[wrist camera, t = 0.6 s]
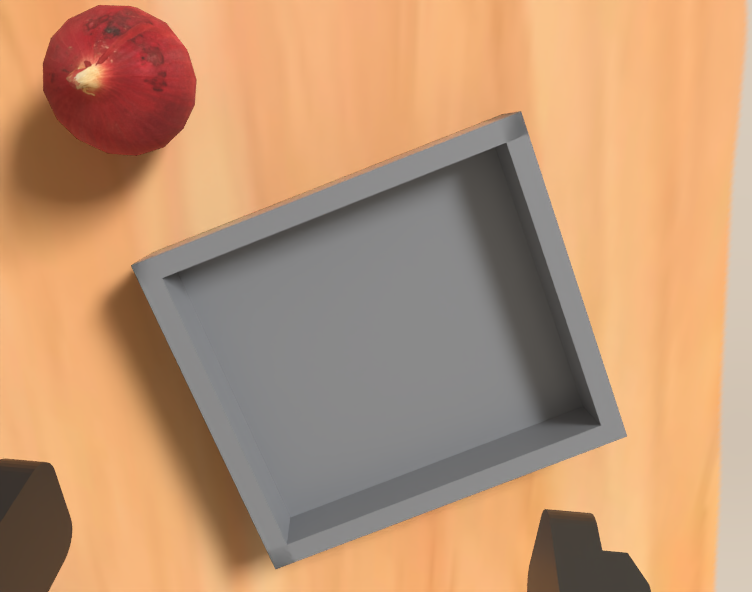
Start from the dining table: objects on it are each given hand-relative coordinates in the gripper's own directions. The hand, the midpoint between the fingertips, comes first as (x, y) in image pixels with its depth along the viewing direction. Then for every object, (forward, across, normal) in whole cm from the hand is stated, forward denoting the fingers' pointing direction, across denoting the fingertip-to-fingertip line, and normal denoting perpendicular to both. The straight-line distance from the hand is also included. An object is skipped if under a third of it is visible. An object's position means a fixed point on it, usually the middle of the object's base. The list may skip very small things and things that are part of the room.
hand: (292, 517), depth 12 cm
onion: (+24, +11, +1) cm, 26 cm away
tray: (+21, 0, +12) cm, 24 cm away
